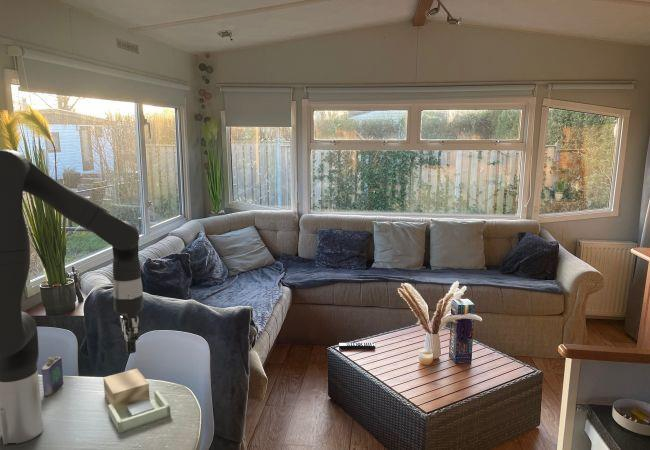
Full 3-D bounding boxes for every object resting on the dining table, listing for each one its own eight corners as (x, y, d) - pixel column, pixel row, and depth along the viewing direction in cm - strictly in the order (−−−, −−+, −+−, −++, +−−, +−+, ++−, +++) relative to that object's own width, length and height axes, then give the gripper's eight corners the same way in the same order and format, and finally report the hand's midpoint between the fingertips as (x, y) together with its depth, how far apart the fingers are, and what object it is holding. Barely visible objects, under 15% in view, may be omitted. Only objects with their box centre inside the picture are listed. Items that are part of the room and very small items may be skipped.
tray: (119, 433, 127) (118, 423, 127) (109, 414, 136) (108, 405, 135) (170, 415, 135) (170, 406, 135) (158, 399, 144) (157, 390, 144)
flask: (50, 396, 145) (47, 363, 144) (40, 396, 145) (37, 364, 143) (65, 381, 154) (62, 350, 153) (56, 381, 154) (53, 351, 153)
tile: (126, 405, 136) (126, 412, 136) (132, 415, 131) (133, 421, 132) (147, 398, 140) (147, 405, 140) (154, 407, 135) (154, 414, 135)
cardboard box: (114, 413, 137) (113, 393, 136) (104, 395, 146) (103, 377, 145) (149, 401, 143) (148, 383, 142) (138, 385, 152) (137, 368, 151)
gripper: (107, 290, 134) (111, 347, 137) (120, 302, 124) (123, 364, 127) (135, 285, 139) (138, 341, 142) (149, 297, 128) (152, 357, 131)
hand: (131, 352), depth 134 cm, fingers closed
